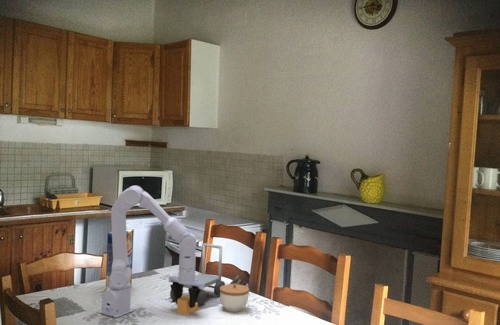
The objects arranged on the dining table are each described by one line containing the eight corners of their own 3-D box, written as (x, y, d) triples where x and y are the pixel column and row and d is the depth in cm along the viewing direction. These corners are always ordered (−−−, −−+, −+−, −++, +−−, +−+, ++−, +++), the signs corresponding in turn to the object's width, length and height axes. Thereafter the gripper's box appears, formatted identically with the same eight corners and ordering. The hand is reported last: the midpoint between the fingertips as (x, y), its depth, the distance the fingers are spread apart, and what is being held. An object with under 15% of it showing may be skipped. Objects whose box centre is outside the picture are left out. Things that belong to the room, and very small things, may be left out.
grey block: (234, 302, 183) (251, 277, 188) (220, 293, 186) (237, 269, 192) (238, 312, 190) (255, 288, 196) (224, 303, 193) (241, 280, 199)
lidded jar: (244, 315, 167) (245, 289, 166) (215, 312, 169) (216, 286, 169) (250, 306, 177) (251, 281, 177) (223, 302, 179) (224, 278, 179)
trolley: (195, 308, 172) (198, 254, 171) (169, 301, 178) (172, 250, 177) (224, 294, 189) (227, 246, 189) (200, 288, 195) (202, 241, 195)
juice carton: (124, 296, 181) (127, 234, 180) (105, 295, 181) (107, 233, 180) (131, 287, 193) (133, 229, 192) (113, 286, 193) (115, 228, 192)
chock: (186, 315, 165) (186, 301, 165) (176, 312, 167) (177, 298, 167) (197, 309, 171) (198, 296, 171) (188, 307, 173) (189, 293, 173)
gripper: (210, 268, 167) (208, 306, 167) (177, 261, 174) (176, 298, 174) (198, 272, 161) (197, 312, 161) (165, 265, 168) (163, 303, 168)
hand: (185, 305), depth 167 cm, fingers open, 5 cm apart
